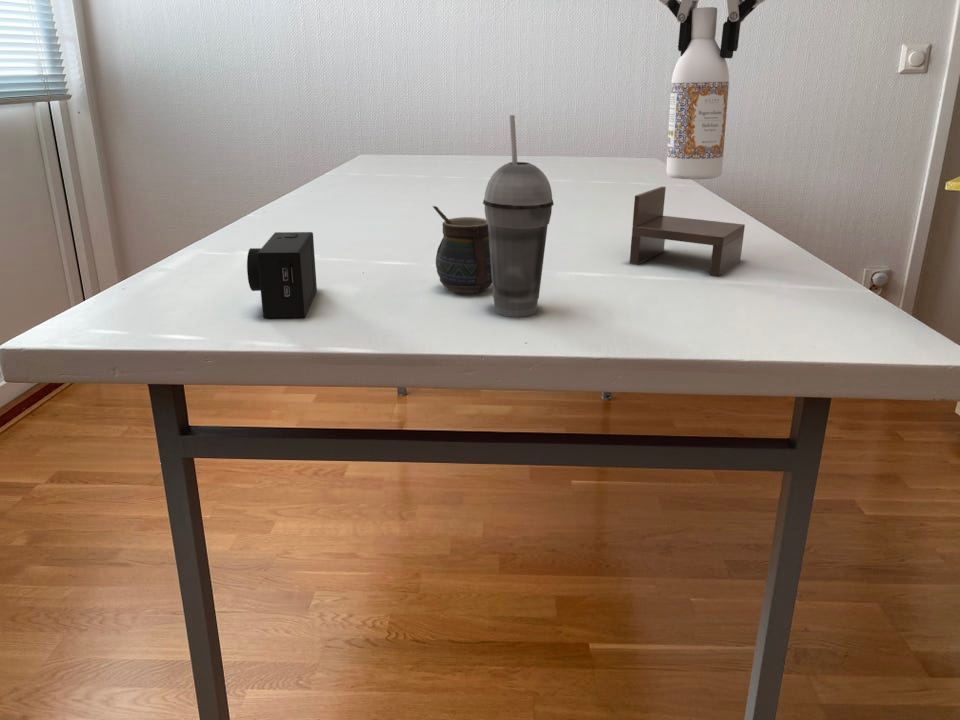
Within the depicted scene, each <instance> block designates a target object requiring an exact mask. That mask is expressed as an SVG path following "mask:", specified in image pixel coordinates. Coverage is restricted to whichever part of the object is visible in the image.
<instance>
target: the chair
mask: <svg viewBox="0 0 960 720" xmlns="http://www.w3.org/2000/svg"><path fill="white" fill-rule="evenodd" d="M666 189H667V187H666V186H660V187H656V188H654V189H651V190H647V191H645V192H642V193H639V194H636V195H634V202H633V213H632V214H633V216H632V227H631V229H632V230H631V238H630V239H631V240H630V250H629V251H630V253H629V264H630V265H640V264H641V263H644V262H645V261H648V260H649V259H651V258H652V257H655V256H657V255H658V254H661V253H662V252H664V251H665V243H666V240H667V241H674V242H682V243H692V244H697V245H698V244H699V245H707V246H712V251H711V260H710V268H709V276H713V277H714V276H715V277H720V276H722V275H723V274H724V273H726V272H727V271H728V270H730V269H731V268H733V267H734V266H735V265H736V264H738V263H740V262H741V259H742V258H741V257H742V250H743V245H744V244H743V243H744V235H745V227H746V224H743V223H737V222H736V223H734V222H726V221H718V220H717V221H716V220H708V219H699V218H698V219H697V218H689V217H679V216H670V215H664V211H665V210H664V208H665V200H666V199H665V198H666Z"/></svg>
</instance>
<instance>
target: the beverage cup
mask: <svg viewBox="0 0 960 720" xmlns="http://www.w3.org/2000/svg"><path fill="white" fill-rule="evenodd" d="M509 129H510V131H509V133H510V146H511V147H510V148H511V149H510V150H511V162H507V163H505V164H503V165H502V166H500V167H499V168H497V169H496V170H495V171H494V172H493V173H492V175H491V176H490V178H489V179H488V181H487V185H486V187H485V191H484V198H483V201H482V205H484V215H485V219H486V222H487V223H488V233H489V247H490V261H491V275H492V284H491V286H492V287H491V288H492V298H493V305H494V312H495V313H496V314H498V315H500V316H503V317H511V318H522V317H530V316H533V315H535V314H536V313H537V306H538V303H539V298H540V291H541V283H542V274H543V267H544V258H545V249H546V243H547V242H546V241H547V234H548V226H549V225H550V220H551V217H552V211H553V210H552V209H553V206H554V204H555V203H554V200H553V192H552V186H551V184H550V182H549V179H548V177H547V176H546V175H545V173H544V172H543V170H541V169H540V168H539V167H537V166H536V165H535V164H532V163H530V162H525V161H518V150H517V133H516V116H515V114H513V115H512V114H511V115H509Z"/></svg>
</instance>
